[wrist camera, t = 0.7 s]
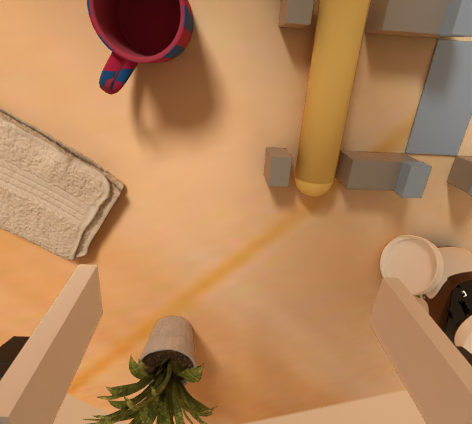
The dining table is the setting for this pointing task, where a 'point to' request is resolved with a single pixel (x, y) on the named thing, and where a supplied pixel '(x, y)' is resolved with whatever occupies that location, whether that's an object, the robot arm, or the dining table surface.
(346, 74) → the yellow round-top post
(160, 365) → the house plant
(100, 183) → the washcloth
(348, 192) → the dining table surface
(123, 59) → the mug
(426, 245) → the spread jar
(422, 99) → the grey block frame
